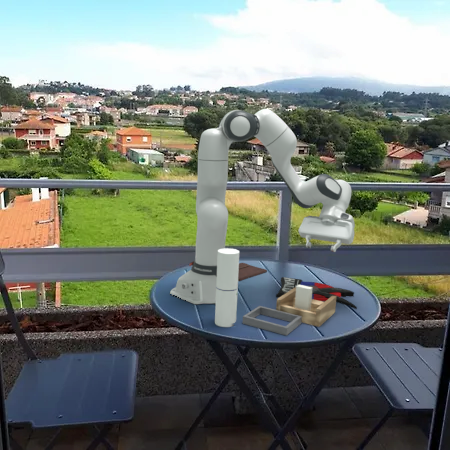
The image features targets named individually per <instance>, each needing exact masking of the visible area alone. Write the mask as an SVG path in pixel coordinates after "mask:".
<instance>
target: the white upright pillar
mask: <svg viewBox="0 0 450 450" xmlns="http://www.w3.org/2000/svg"><path fill="white" fill-rule="evenodd" d="M312 288H313V287H308V286H304V285H297V286H296V297H295V308H299V309H303V310H307V311H311V300H312Z"/></svg>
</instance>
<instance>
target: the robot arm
mask: <svg viewBox="0 0 450 450" xmlns="http://www.w3.org/2000/svg"><path fill="white" fill-rule="evenodd" d="M253 137H255V138H256V139H257V140H258V141H260V143H261V144H262V145H263V146H264V148H265V149H266V150H267V152H268V153H269V155H270V158H271V159H270V161H271V163H272V166H273V168H274V169H275V172H277V174H278V175H279V176H280V178H281V179H282V182H284V184H285V186H286V187H287V188H288V190H289V192H290V193H291V196H292V198H293V200H294V202H295V204H296V205H297V206H299V207H301V208H303V209H306V210H307V209H310V208H313V207H314V206H316V205H318V204H322V208H321V211H320V212H319V216H318V215H316V216H315V215H314V216H313V215H307V216H305V217H303V219H302V222H301V224H300V226H299V228H298V230H297V231H298V234H299V236H300V238H305V240H306V244H305V248H307V249H311V247H312V242H311V240H318V241H324V242H330V243H335V244H334V245H331V247H330V252H331V253H336V252H337V249H338V248H340V247H341V246H342V244H343V245H351V244H353V242H354V237H355V219H354V217H353V216H352V215H351V214H349V213H346V210H347V209H348V208H349V205H350V203H351V199H352V198H351V197H352V187H351V184H350V183H348V182H347V181H345V180H343V179H335V178H333V177H332V176H331V175H329V174H326V173H321V174H319V175H316V176H314V177H312V178H310V179H309V180H307V181H304V180H303V179H301V177H300V176H299V174H298V173H297V172H296V170H295V168H294V167H293V165H292V164H291V163H292V161H291V158H292V157H293V154H295V152H296V150H297V145H298V142H297V141H298V139H297V137H296V135H295V133H294V132H293V131H292V129H291V127H290V126H288V124H286V122H285V121H284V120H283V119H282V118H281V117H280V116H278V114H276V113H275V112H274V111H272V110H271V109H270V108H263V109H260V110H258V111H257V112H256V113H254V114H253V113H250V112H247V111H244V110H241V109H234V110H230V111H229V112H226V113H225V114H224V116H223V117H222V118H221V119H220V121H219V124H218V125H217V126H216V127H215V128H208V129H206V130H204V131H202V133H201V135H200V138H199V144H198V153H197V179H196V180H197V181H196V182H197V183H196V199H195V201H196V202H195V213H196V215H197V217H196V218H197V221H196V222H197V226H196V237H195V259H194V260H193V261H192V262H189V266H188V267H191V269H190V270H188V271H186V272H185V273H184V274H182V275H180V277H179V278H178V279H177V282H176V284H175V287H174V288H172V289H171V290H170V293H169V295H170V294H172V295H171V296H173V295H175V296H177V297H176V298H178V297H179V298H178V299H180V298H181V300H183V301H185V300H186V302H189V303H191V304H193V305H201V304H216V281H217V256H218V250H219V249H225V248H226V238H227V234H228V233H227V231H228V221H229V211H228V208H227V206H226V195H227V194H226V193H227V186H228V179H229V178H228V177H229V175H228V172H229V150H230V146H231V144H232V143H235V142H236V143H237V142H241V143H242V142H244V141H248V140H249V139H251V138H253ZM175 296H174V297H175Z"/></svg>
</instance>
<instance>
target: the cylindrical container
mask: <svg viewBox="0 0 450 450" xmlns="http://www.w3.org/2000/svg"><path fill="white" fill-rule="evenodd" d="M239 263H240V250H238V249H236V248H228V247H225V249H219V250H218V256H217V281H216V303H215V308H214V310H215V311H214V313H215V315H214V324H215V325H216V326H217V327H221V328H230V327H234V326H235V323H236V322H237V312H238V311H237V307H238V290H239V289H238V288H239V287H238V286H239V281H238V271H239Z"/></svg>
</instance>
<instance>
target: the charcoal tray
mask: <svg viewBox="0 0 450 450" xmlns="http://www.w3.org/2000/svg"><path fill="white" fill-rule="evenodd" d="M260 315H263V316H266V317H271V318H274V319H278V320H283V321H286V322H289V323H287V325H283V324H278V323H275V322H270V321H267V320H263V319H259V318H256V317H258V316H260ZM301 321H302V316H298V315H294V314H290V313H286V312H282V311H278V310H276V309H275V308H274V309H273V308H270V307H267V306H262V305H258V306H257V307H256V308H254V309H252V310H251V311H249V312H247V313H246V314H244V315H243V316H242V324H243V325H246V326H250V327H253V328H257V329H260V330H261V329H262V330H264V331H268V332H272V333H276V334H279V335H283V336H288V335H290V334H291V333H292V332H293V331H294V330H295V329H297V328H298V327H299V326H300V325H301V324H302V322H301Z"/></svg>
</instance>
